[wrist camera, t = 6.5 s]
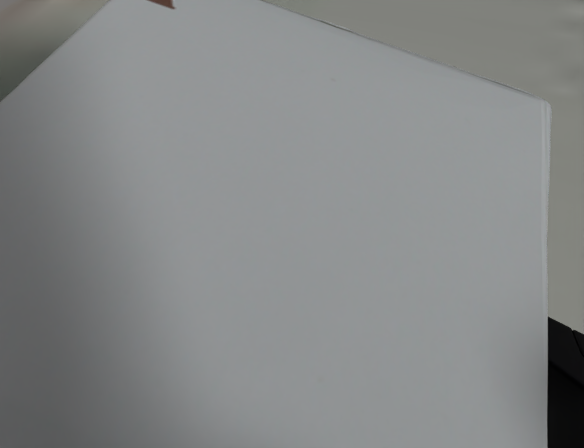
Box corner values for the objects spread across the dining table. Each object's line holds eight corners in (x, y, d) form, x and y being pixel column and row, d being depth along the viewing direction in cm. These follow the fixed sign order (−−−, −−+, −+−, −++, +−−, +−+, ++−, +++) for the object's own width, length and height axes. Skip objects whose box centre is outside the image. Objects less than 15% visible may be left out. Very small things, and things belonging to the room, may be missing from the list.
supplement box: (127, 394, 14) (-354, 364, 3) (212, 238, 17) (152, -62, 6) (301, 470, 14) (578, 802, 2) (353, 294, 17) (567, 83, 6)
